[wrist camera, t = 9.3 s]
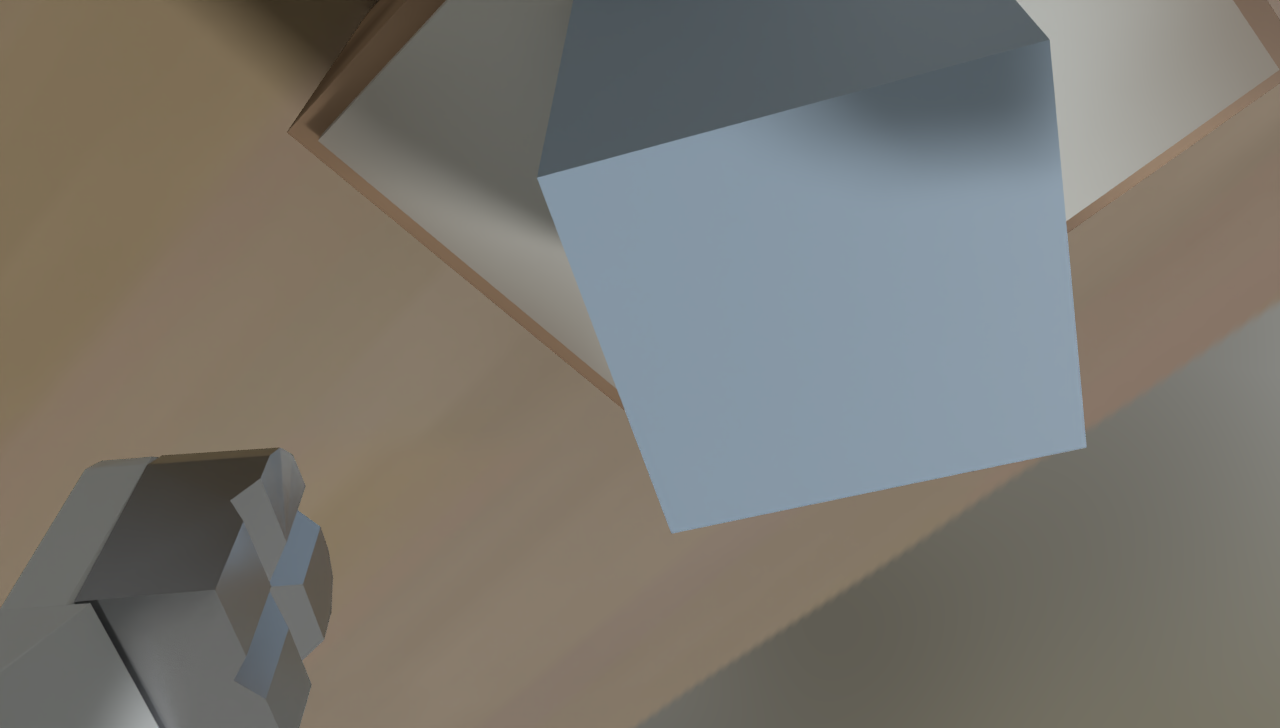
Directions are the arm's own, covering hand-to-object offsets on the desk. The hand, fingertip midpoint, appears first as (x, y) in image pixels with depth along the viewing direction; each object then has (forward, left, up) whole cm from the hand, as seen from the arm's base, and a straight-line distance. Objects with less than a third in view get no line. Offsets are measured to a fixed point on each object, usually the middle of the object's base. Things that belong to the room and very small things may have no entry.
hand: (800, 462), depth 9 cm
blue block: (0, -1, -9) cm, 9 cm away
